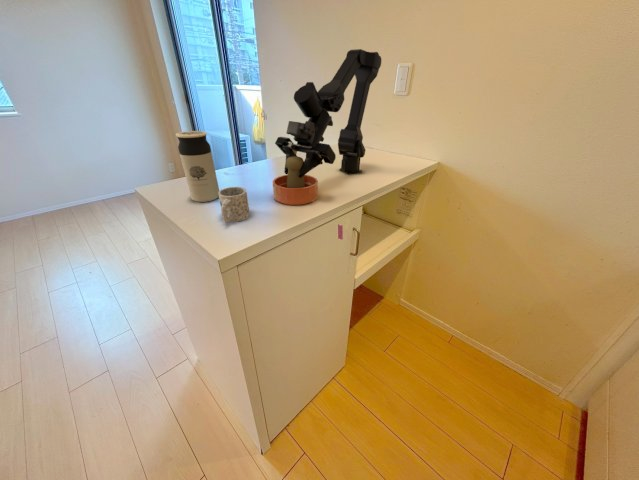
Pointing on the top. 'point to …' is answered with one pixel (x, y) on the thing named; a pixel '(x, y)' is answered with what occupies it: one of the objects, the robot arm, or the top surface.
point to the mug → (234, 204)
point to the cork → (294, 172)
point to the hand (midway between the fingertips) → (292, 175)
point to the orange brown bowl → (295, 191)
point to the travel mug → (198, 165)
